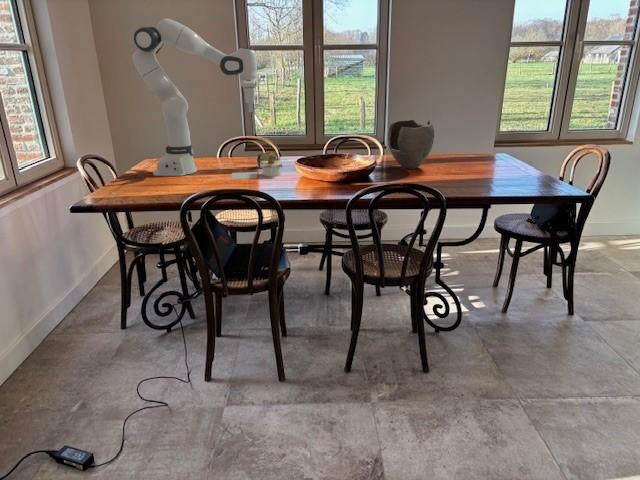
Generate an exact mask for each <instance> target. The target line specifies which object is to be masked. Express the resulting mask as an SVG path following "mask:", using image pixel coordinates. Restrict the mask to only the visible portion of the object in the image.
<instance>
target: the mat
mask: <svg viewBox="0 0 640 480" xmlns="http://www.w3.org/2000/svg"><path fill="white" fill-rule="evenodd" d="M257 178H258V172H257V171H252V172H250V171H248V172H232V173H231V175H230V179H231V180H239V179H245V180H246V179H257Z"/></svg>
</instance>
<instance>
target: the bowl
mask: <svg viewBox="0 0 640 480" xmlns="http://www.w3.org/2000/svg"><path fill="white" fill-rule="evenodd" d="M280 175H281V167H264V168H262V176H264V177H271V178H272V177H278V176H280Z"/></svg>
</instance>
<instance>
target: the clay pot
mask: <svg viewBox="0 0 640 480" xmlns="http://www.w3.org/2000/svg"><path fill="white" fill-rule="evenodd" d="M387 136H388V137H387V141H388V142H387V143H388V148H389V151H390V153H391V155H392V157H393V159H394V160H395V161H396V163H398V165H400V166H401V167H403V168H404V169H408V170H409V169H410V170H415V169H418V168H419V167H420V166H422V164H423V163H425V161H426V160H427V158H428V156H429V154H430V153H431V151H432V149H433V144H434V141H435V128H434V124H433V122H432V121H431V120H428V121H427V125H423V124H418V123H417V122H416V121H415V119H404V120H403V119H402V120H395V121H394V122H391V124H390V125H389V128H388V134H387Z"/></svg>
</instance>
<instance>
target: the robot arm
mask: <svg viewBox="0 0 640 480" xmlns="http://www.w3.org/2000/svg"><path fill="white" fill-rule="evenodd" d="M133 42H134V45H135V46H136V47H137V50H136V51H135V52H134V53H133V54H132V58H131V59H132V62H133V65H134V67H135V69H136V70H137V72H138V74H139V76H140V77H141V78H142V80H143V82H144V83H145V85H146V86H147V88H148V89H149V90H150V92H152V94H154V96H155V97H156V98H157V99H158V101H160V102H161V104H162V106H161V109H162V113H163V119H164V123H165V126H166V131H167V140H168V144H167V145H166V147H165V154H164V155H163V156H162V157H161V158H160V159H158V161H157V162H156V169H154V170H153V171H152V175H153V176H154V177H155V176H158V177H159V176H161V177H162V176H164V177H167V176H168V177H171V176H172V177H173V176H174V177H182V176H185V175H190V174H194V173H197V172H198V169H197V167H196V164H195V160H194V156H193V155H194V150H193V145H192V141H191V133H190V127H189V122H188V119H187V113H188V110H189V104H188V101H187V100H186V98H185V97H184V95H183V94H182V93H181V92H180V90H179V89H178V88H177V86H176V85H175V84H174V82H172V80H171V79H170V77H169V76H168V74H167V73H166V71H165V70H164V68H163V67H162V66H161V64H160V62H159V61H158V59H157V58H156V55H157V54H159V52H160V50H161V49H163V46H164V44H168V45H169V46H170V45H171V46H172V47H174V48H175V49H177V50H179V51H181V52H184V53H186V54H189V55H194V56H195V55H196V56H200V57H203V58H205V59H208V60H210V61H211V62H213V63H215V64H217V65H218V66H219V68H220V71H221V72H222V73H223V74H224V75H226V76H229V77H235V76H238V75H239V79H240V87H242V88H243V91H244V92H243V93H244V99H245V103H246V104H247V107H248V112H249V113H253V111H254V103H255V90H257V87H259V74H258V59H257V54H256V51H255V50H254V49H252V48H248V47H240V48H238V50H236V51H234V52H232V53H230V54H227V53H225V52H222V51H221V50H219V49H217V48H215V47H214V46H212V45H211V44H208V42H206V41H205V40H204V39H203V38H202V37H201V36H200V35H199V34H197V33H196V32H195V31H193V30H192V29H191V28H189V27H188V26H186V25H184V24H182V23H180V22H179V21H176V20H173V19H171V18H167V17H165V18H162V19H161V20H160V21H159V23H158V24H157V26H156V27H154V26H142V27H139V28H138V29H136V31H135V32H134V34H133Z"/></svg>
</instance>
